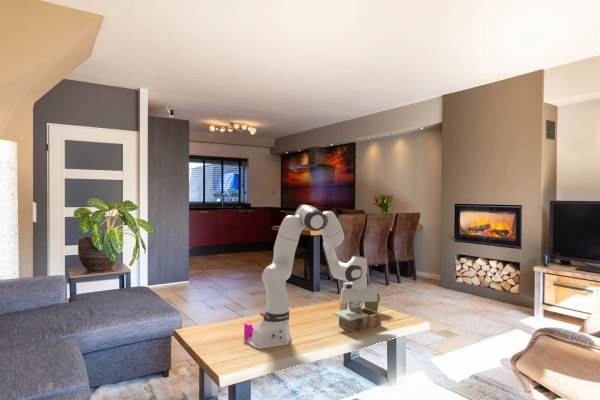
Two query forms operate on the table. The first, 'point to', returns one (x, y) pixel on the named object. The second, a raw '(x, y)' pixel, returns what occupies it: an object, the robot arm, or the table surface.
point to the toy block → (248, 330)
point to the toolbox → (362, 321)
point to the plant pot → (373, 304)
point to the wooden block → (343, 305)
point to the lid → (351, 313)
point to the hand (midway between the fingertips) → (359, 309)
